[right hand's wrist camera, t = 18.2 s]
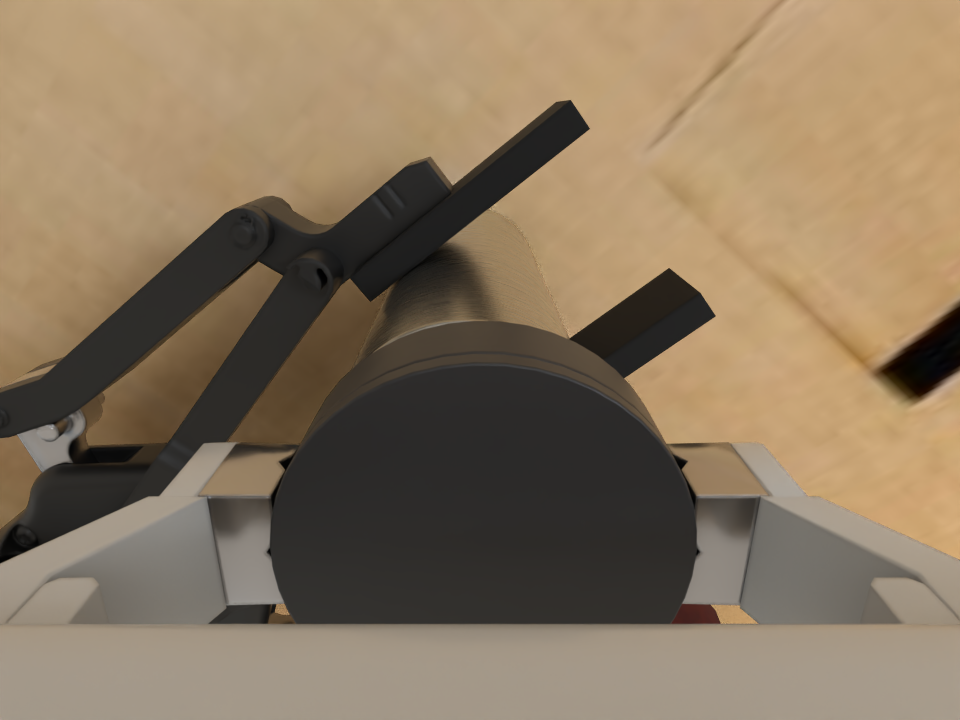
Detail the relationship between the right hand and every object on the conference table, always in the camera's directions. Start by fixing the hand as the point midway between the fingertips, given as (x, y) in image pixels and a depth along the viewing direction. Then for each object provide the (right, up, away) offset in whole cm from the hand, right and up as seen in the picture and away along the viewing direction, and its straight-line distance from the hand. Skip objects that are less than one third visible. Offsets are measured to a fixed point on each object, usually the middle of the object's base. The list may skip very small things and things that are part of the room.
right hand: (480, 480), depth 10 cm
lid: (0, -1, -1) cm, 2 cm away
